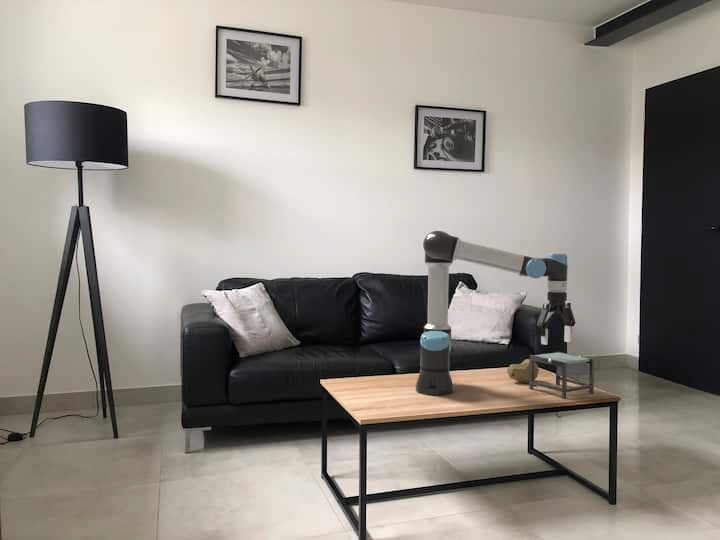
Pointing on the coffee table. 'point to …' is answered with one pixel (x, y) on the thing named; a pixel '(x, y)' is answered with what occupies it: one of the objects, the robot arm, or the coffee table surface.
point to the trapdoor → (569, 363)
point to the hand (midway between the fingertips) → (556, 343)
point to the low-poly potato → (522, 371)
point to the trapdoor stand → (564, 376)
